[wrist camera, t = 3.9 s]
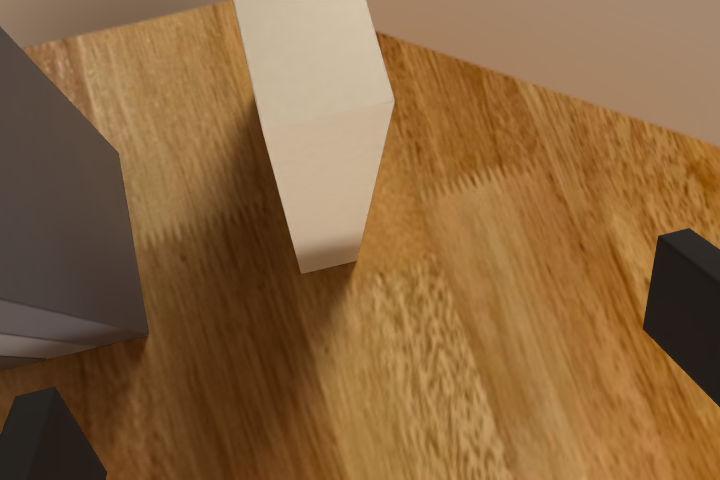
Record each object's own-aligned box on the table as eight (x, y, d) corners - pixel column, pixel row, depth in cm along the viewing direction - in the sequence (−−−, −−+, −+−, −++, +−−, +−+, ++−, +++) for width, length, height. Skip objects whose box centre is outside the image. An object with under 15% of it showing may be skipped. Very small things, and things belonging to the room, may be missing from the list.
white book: (309, 75, 33) (288, -275, 15) (356, 261, 30) (395, 101, 13) (257, 85, 32) (173, -260, 15) (300, 274, 30) (262, 129, 12)
